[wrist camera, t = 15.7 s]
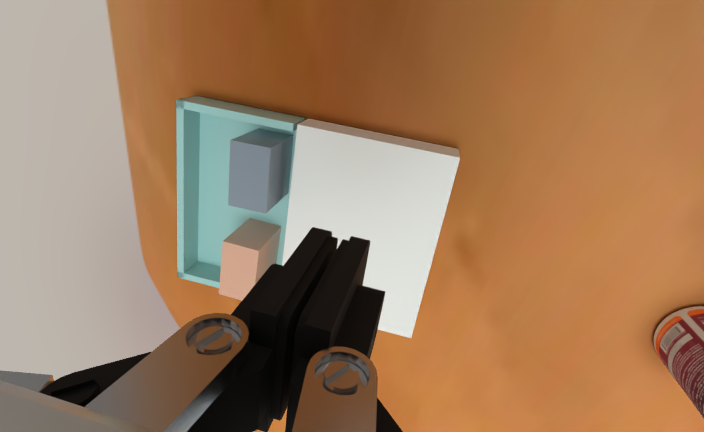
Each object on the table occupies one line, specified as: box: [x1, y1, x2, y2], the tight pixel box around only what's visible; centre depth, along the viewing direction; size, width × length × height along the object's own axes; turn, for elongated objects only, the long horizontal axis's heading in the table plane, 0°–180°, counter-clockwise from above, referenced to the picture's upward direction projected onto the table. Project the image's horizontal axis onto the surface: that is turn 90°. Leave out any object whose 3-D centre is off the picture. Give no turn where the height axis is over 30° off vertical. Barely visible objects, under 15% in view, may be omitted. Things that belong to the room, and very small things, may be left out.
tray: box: [176, 96, 306, 288], centre depth 35 cm, size 9×16×3 cm, turn 171°
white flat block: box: [282, 119, 460, 338], centre depth 34 cm, size 12×16×3 cm
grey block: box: [228, 128, 294, 214], centre depth 32 cm, size 5×5×3 cm
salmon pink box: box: [219, 218, 281, 300], centre depth 35 cm, size 5×5×3 cm
